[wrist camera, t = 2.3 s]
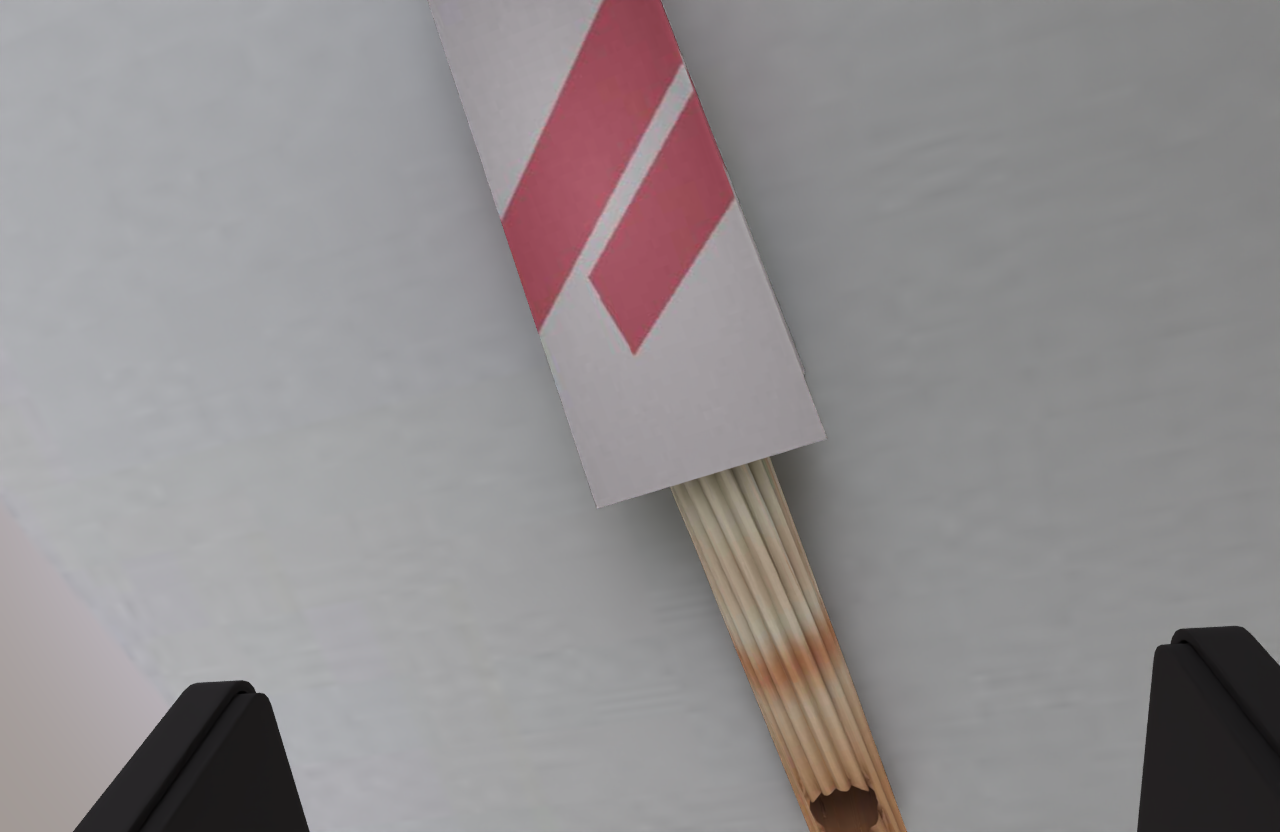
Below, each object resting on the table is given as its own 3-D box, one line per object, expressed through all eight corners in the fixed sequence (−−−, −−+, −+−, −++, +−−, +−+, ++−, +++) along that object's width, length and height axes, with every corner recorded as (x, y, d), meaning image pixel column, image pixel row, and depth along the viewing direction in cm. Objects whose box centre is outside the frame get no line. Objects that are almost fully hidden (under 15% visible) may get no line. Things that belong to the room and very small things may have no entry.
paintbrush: (598, -286, 11) (970, 889, 19) (615, -242, 14) (937, 781, 21) (303, -150, 12) (777, 928, 20) (370, -131, 14) (767, 819, 22)
